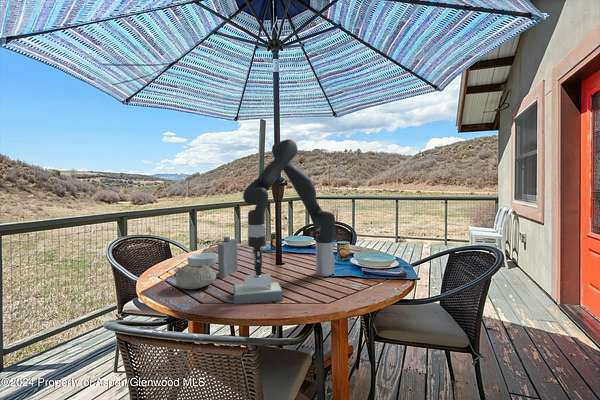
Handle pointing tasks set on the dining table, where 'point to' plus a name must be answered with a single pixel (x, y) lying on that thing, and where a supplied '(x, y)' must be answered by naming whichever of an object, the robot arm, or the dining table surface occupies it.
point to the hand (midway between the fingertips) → (257, 272)
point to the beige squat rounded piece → (195, 276)
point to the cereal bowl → (203, 259)
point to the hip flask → (227, 257)
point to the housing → (257, 282)
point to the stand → (257, 294)
